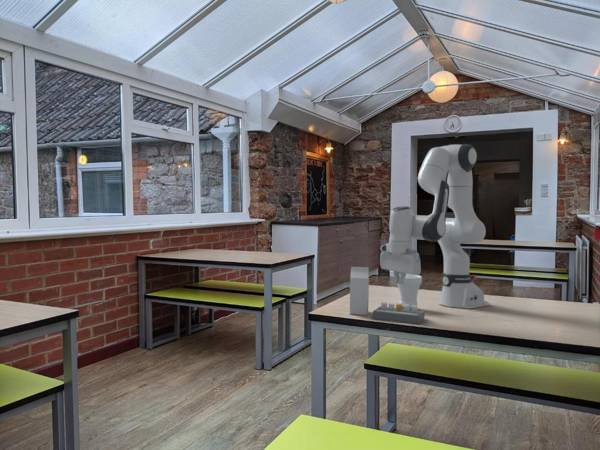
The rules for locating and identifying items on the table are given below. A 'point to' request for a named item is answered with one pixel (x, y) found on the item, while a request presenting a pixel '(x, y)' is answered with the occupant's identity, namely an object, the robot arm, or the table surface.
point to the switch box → (399, 314)
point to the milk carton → (359, 290)
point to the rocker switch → (399, 307)
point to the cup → (409, 290)
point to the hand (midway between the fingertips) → (399, 283)
